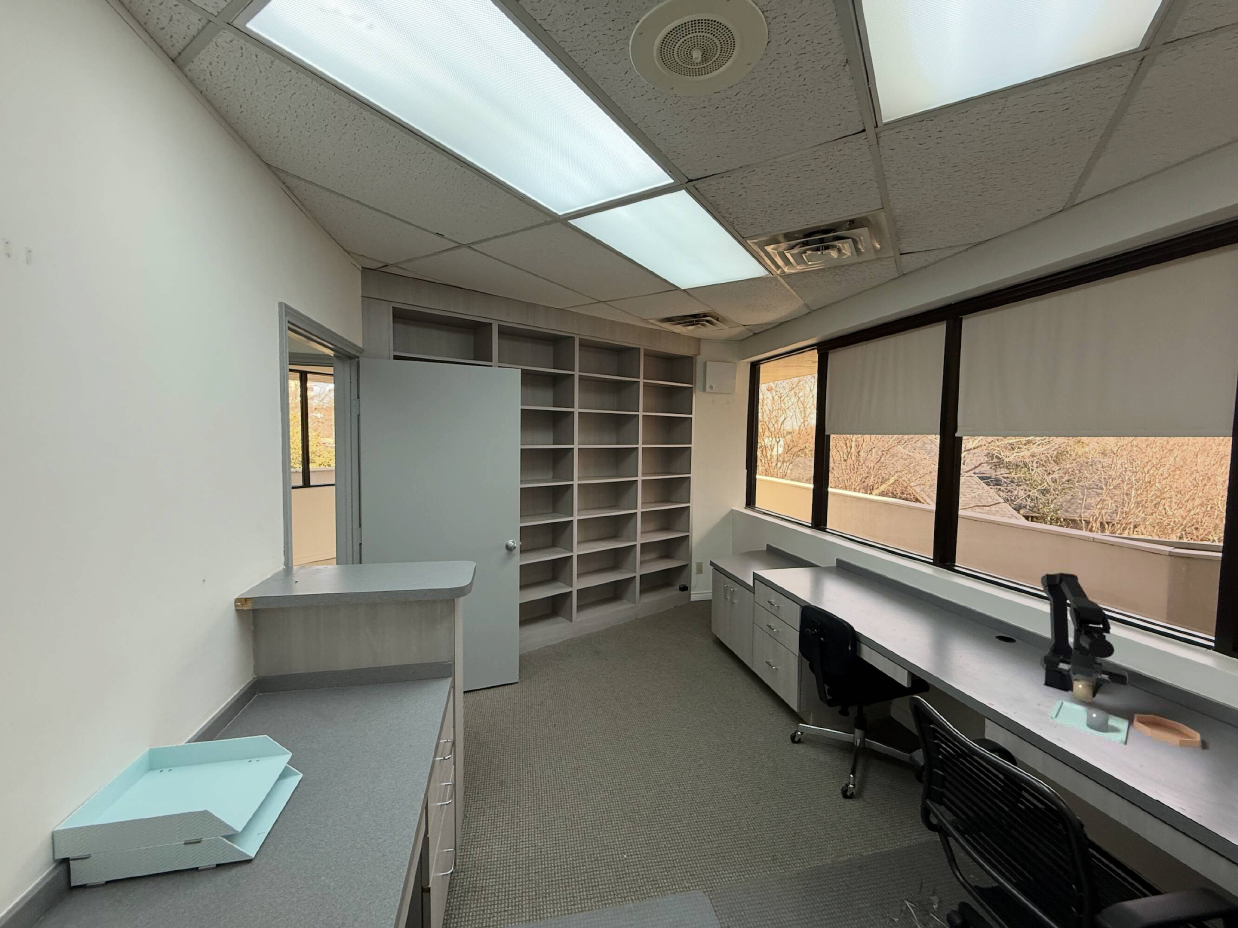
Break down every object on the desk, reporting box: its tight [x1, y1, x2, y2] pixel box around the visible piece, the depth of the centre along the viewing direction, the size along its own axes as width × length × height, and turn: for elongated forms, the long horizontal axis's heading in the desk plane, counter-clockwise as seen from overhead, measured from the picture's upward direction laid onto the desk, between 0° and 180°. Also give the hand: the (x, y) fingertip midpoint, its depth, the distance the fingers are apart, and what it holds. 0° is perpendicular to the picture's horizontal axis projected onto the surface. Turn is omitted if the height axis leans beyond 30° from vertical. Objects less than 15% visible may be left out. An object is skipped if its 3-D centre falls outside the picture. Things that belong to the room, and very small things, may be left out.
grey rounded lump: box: [1086, 707, 1109, 733], centre depth 144 cm, size 5×5×5 cm
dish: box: [1132, 713, 1201, 748], centre depth 142 cm, size 13×13×2 cm
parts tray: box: [1049, 698, 1130, 745], centre depth 148 cm, size 16×17×1 cm
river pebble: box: [1072, 678, 1095, 703], centre depth 152 cm, size 5×5×5 cm
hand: (1082, 694), depth 152 cm, fingers closed on river pebble, 5 cm apart
